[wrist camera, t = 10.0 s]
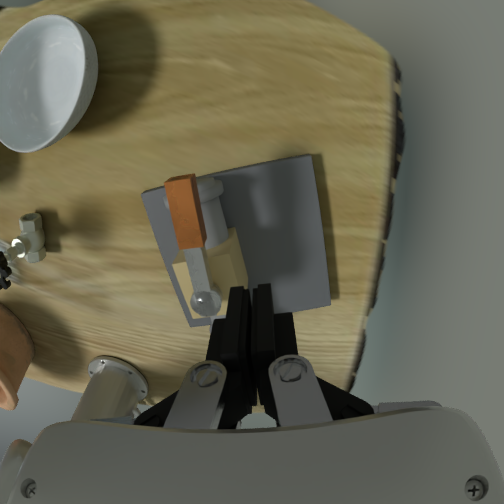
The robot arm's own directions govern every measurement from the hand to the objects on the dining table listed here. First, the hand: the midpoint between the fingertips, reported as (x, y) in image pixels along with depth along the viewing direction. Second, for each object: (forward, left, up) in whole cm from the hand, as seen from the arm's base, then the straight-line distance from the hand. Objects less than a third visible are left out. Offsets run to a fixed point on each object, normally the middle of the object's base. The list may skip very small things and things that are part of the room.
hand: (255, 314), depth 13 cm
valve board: (-8, +4, -24) cm, 26 cm away
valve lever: (-3, +6, -15) cm, 17 cm away
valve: (+1, +34, -25) cm, 42 cm away
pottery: (-17, +60, -25) cm, 67 cm away
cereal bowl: (+20, +22, -25) cm, 39 cm away
